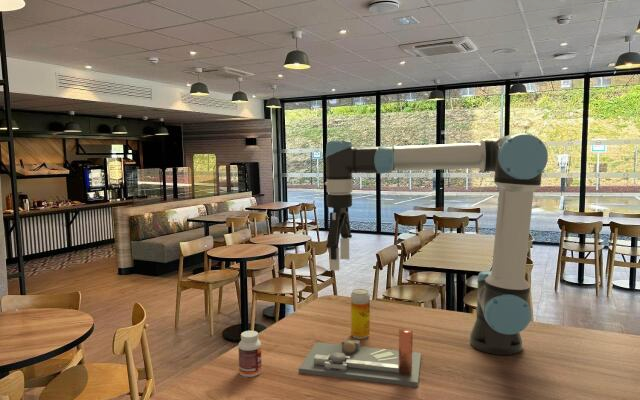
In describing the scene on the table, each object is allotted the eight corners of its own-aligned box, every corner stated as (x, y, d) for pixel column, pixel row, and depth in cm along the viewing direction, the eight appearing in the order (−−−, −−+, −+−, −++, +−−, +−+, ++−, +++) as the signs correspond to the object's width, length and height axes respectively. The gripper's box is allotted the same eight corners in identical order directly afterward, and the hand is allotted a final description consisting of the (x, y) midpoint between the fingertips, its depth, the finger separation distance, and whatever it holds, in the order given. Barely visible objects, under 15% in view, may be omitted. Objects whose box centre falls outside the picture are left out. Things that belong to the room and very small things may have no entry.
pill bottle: (262, 376, 127) (262, 337, 126) (239, 379, 126) (238, 339, 124) (260, 366, 133) (259, 328, 132) (238, 368, 132) (237, 330, 130)
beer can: (368, 340, 150) (368, 294, 148) (349, 338, 151) (349, 293, 150) (370, 333, 156) (370, 289, 154) (352, 331, 157) (352, 288, 156)
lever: (312, 366, 129) (311, 326, 128) (317, 358, 134) (317, 319, 133) (411, 378, 122) (411, 335, 121) (412, 368, 128) (413, 327, 126)
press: (421, 356, 138) (421, 341, 138) (417, 386, 121) (417, 369, 120) (316, 345, 146) (315, 331, 146) (298, 372, 129) (298, 355, 128)
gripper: (336, 189, 151) (337, 254, 153) (315, 197, 127) (316, 274, 129) (359, 189, 149) (360, 255, 151) (342, 198, 125) (342, 276, 127)
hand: (339, 264), depth 140 cm, fingers open, 13 cm apart
